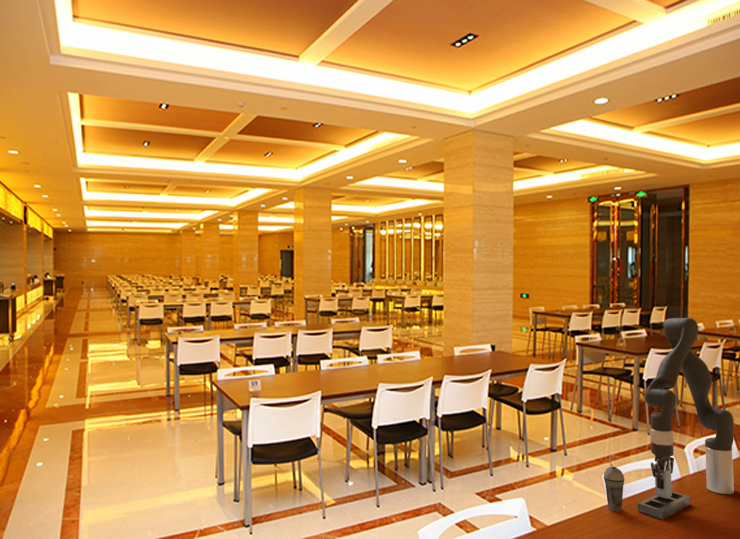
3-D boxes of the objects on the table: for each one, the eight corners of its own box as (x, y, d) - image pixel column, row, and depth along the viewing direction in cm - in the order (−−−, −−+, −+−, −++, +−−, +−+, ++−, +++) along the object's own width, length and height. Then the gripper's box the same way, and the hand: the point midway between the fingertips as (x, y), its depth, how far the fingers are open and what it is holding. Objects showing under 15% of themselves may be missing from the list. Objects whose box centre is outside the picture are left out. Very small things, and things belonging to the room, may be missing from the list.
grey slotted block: (665, 497, 203) (665, 489, 203) (690, 504, 195) (690, 496, 195) (637, 511, 190) (637, 503, 190) (662, 519, 183) (662, 511, 183)
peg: (660, 492, 196) (659, 466, 196) (671, 496, 192) (670, 469, 193) (655, 495, 193) (654, 468, 194) (666, 498, 190) (665, 471, 191)
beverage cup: (628, 514, 188) (626, 459, 189) (607, 512, 189) (605, 458, 190) (622, 505, 195) (620, 453, 196) (602, 504, 196) (600, 452, 197)
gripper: (660, 436, 201) (662, 480, 200) (642, 442, 193) (644, 488, 192) (680, 440, 195) (682, 485, 194) (663, 447, 187) (664, 494, 186)
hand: (663, 486), depth 193 cm, fingers closed on peg, 4 cm apart
